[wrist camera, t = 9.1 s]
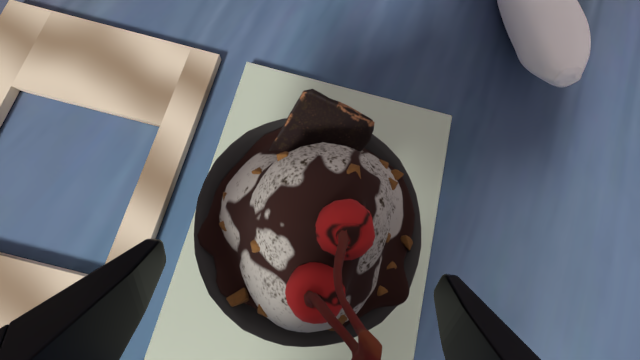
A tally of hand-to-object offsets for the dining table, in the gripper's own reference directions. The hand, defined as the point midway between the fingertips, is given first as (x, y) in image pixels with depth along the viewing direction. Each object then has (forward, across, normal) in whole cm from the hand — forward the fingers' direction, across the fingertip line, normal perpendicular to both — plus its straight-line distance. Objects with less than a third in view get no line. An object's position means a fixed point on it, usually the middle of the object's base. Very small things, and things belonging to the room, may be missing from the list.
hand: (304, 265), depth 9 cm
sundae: (+7, 0, +5) cm, 9 cm away
